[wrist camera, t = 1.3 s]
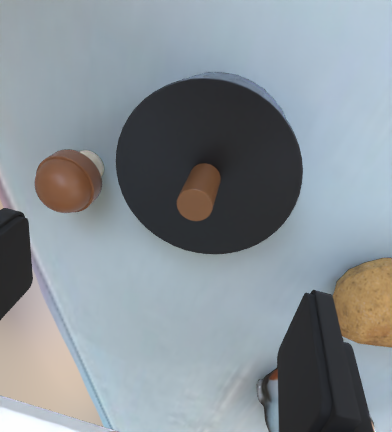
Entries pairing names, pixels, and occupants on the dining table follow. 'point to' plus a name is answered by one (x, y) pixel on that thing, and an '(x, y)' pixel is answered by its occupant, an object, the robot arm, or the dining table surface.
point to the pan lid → (209, 165)
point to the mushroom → (69, 180)
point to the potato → (366, 303)
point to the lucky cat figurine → (272, 400)
